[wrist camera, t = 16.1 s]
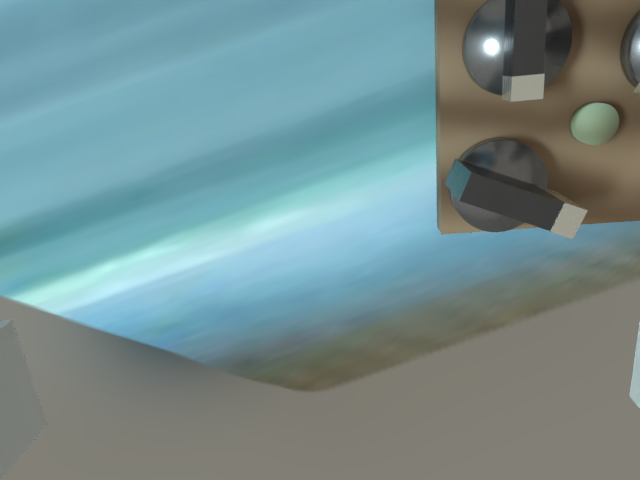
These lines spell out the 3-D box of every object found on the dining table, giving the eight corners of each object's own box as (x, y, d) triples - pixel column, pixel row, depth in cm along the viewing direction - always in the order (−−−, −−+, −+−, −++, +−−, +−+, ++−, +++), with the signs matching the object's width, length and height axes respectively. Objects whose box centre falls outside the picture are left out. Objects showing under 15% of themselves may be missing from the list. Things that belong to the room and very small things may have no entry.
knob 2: (428, 208, 40) (444, 235, 33) (464, 123, 37) (488, 135, 31) (523, 239, 40) (555, 271, 34) (563, 156, 38) (606, 175, 32)
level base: (434, -7, 37) (442, -13, 34) (721, -36, 35) (756, -46, 32) (437, 226, 42) (444, 238, 39) (682, 209, 41) (709, 220, 38)
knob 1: (462, -5, 34) (475, -13, 31) (566, -16, 34) (590, -24, 31) (461, 101, 37) (473, 104, 33) (559, 92, 36) (581, 95, 33)
